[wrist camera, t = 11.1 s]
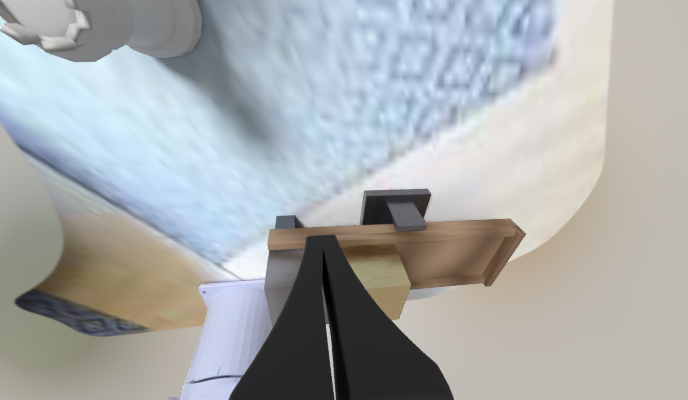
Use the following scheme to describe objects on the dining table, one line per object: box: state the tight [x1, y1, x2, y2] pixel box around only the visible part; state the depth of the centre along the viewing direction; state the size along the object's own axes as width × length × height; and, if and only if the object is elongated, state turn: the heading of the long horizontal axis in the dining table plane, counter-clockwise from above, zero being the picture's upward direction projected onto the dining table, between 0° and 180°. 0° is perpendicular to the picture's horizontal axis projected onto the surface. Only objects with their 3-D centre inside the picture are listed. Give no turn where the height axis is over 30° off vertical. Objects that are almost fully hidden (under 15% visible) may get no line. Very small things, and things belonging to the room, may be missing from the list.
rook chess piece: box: [0, 0, 202, 62], centre depth 10 cm, size 4×4×8 cm
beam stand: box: [275, 189, 431, 231], centre depth 23 cm, size 14×10×4 cm
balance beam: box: [264, 219, 526, 328], centre depth 21 cm, size 21×7×5 cm, turn 87°
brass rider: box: [341, 244, 411, 320], centre depth 20 cm, size 5×5×4 cm
